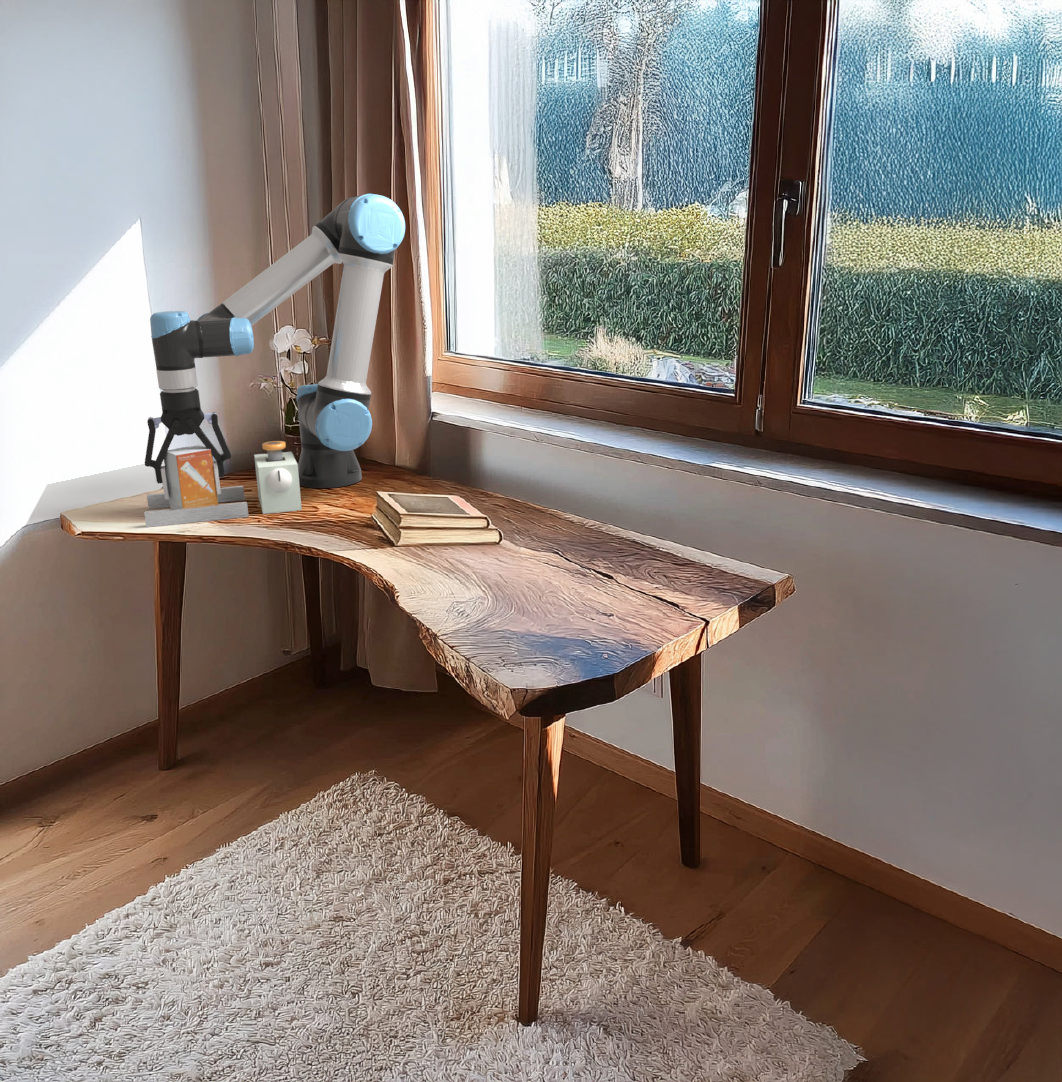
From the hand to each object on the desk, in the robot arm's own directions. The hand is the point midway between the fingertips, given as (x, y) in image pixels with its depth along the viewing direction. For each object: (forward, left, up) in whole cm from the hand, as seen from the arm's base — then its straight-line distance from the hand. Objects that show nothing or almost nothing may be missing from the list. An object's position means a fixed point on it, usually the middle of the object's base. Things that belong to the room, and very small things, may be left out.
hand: (193, 495), depth 207 cm
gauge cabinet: (-17, 0, -4) cm, 18 cm away
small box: (0, 0, -3) cm, 3 cm away
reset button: (-17, 0, +4) cm, 18 cm away
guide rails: (0, 0, -4) cm, 4 cm away
